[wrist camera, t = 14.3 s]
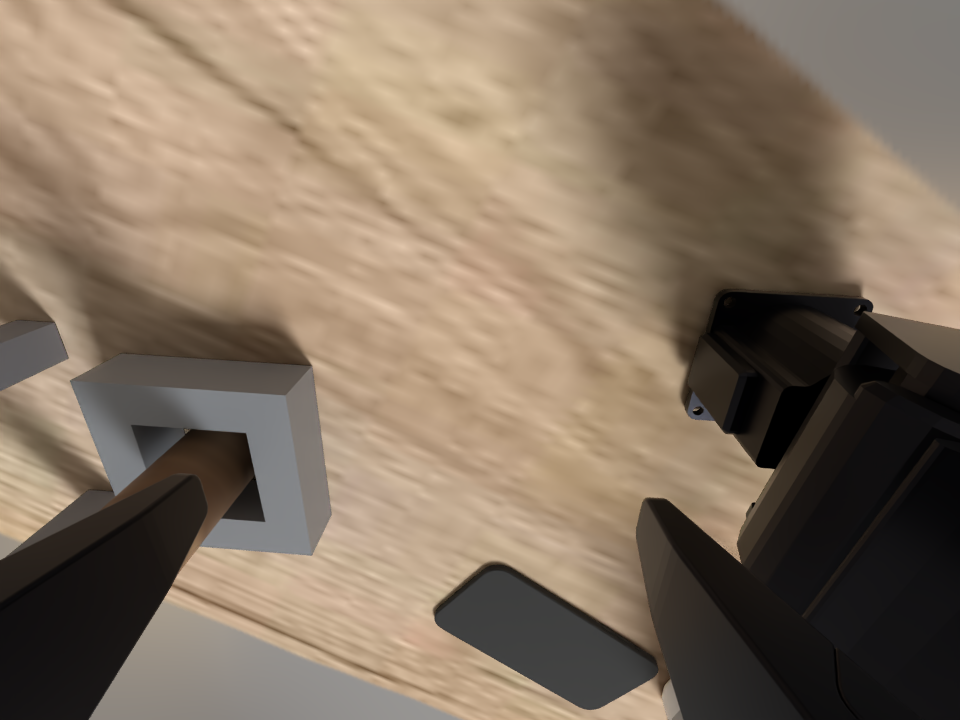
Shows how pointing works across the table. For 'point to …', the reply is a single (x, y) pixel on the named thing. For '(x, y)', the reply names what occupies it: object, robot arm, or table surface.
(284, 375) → the socket
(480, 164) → the table surface
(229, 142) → the table surface
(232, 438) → the peg
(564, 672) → the phone
